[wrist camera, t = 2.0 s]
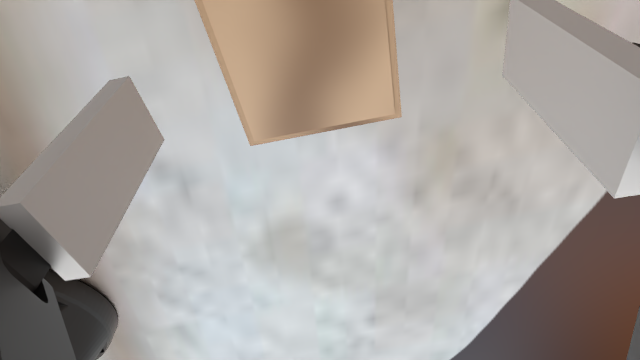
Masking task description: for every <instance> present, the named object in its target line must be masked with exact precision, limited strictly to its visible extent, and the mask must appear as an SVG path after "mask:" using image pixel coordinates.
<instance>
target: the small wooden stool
mask: <svg viewBox="0 0 640 360" xmlns="http://www.w3.org/2000/svg"><path fill="white" fill-rule="evenodd" d="M195 3H196V5H197V8H198V10H199V13H200V16H201V18H202V21H203V23H204V26H205V29H206V31H207V34H208V37H209V39H210V42H211V44H212V47H213V50H214V52H215V55H216V57H217V60H218V63H219V65H220V68H221V70H222V73H223V76H224V78H225V81H226V84H227V86H228V89H229V91H230V94H231V97H232V99H233V102H234V104H235V107H236V110H237V112H238V115H239V117H240V120H241V123H242V125H243V128H244V130H245V133H246V136H247V138H248V141H249V144H250V146H253V145H258V144H263V143H269V142H274V141H279V140H284V139H290V138H295V137H300V136H305V135H310V134H316V133H321V132H326V131H331V130H336V129H342V128H347V127H352V126H357V125H363V124H368V123H373V122H378V121H383V120H389V119H394V118H399V117H402V116H401V103H400V90H399V77H398V64H397V51H396V38H395V25H394V13H393V0H195Z"/></svg>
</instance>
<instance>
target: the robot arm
mask: <svg viewBox="0 0 640 360" xmlns="http://www.w3.org/2000/svg"><path fill="white" fill-rule="evenodd" d="M502 76H503V77H504V78H505V79H506V80H507V81H508V83H509V84H510V85H511V86H512V87H513V88H514V89H515V90H516V91H517V92H518V93H519V95H520V96H521V97H522V98H523V99H524V100H525V101H526V102H527V103H528V104H529V106H530V107H531V108H532V109H533V110H534V111H535V112H536V113H537V114H538V115H539V116H540V118H541V119H542V120H543V121H544V122H545V123H546V124H547V125H548V126H549V127H550V129H551V130H552V131H553V132H554V133H555V134H556V135H557V136H558V137H559V138H560V139H561V141H562V142H563V143H564V144H565V145H566V146H567V147H568V148H569V149H570V150H571V152H572V153H573V154H574V155H575V156H576V157H577V158H578V159H579V160H580V161H581V163H582V164H583V165H584V166H585V167H586V168H587V169H588V170H589V171H590V172H591V173H592V175H593V176H594V177H595V178H596V179H597V180H598V181H599V182H600V183H601V184H602V186H603V187H604V188H605V189H606V190H607V191H608V192H609V193H610V194H611V195H612V196H613V198H619V197H627V196H633V195H640V44H637V43H631V42H629V41H627V40H625V39H624V38H622V37H620V36H618V35H616V34H614V33H613V32H611V31H609V30H607V29H605V28H604V27H602V26H600V25H598V24H596V23H595V22H593V21H591V20H589V19H587V18H586V17H584V16H582V15H580V14H578V13H576V12H575V11H573V10H571V9H569V8H567V7H566V6H564V5H562V4H560V3H558V2H557V1H555V0H510V7H509V16H508V26H507V35H506V45H505V54H504V63H503V73H502ZM163 141H164V138H163V136H162V135H161V133H160V131H159V129H158V127H157V126H156V124H155V122H154V120H153V118H152V116H151V115H150V113H149V111H148V109H147V107H146V106H145V104H144V102H143V100H142V98H141V97H140V95H139V93H138V91H137V89H136V87H135V86H134V84H133V82H132V80H131V78H130V77H129V76H128V77H123V78H118V79H114V80H109V81H108V83H107V84H106V85H105V86H104V87H103V88H102V89H101V90H100V91H99V92H98V93H97V94H96V95H95V96H94V97H93V99H92V100H91V101H90V102H89V103H88V104H87V105H86V106H85V107H84V108H83V109H82V110H81V111H80V112H79V113H78V115H77V116H76V117H75V118H74V119H73V120H72V121H71V122H70V123H69V124H68V125H67V126H66V127H65V128H64V130H63V131H62V132H61V133H60V134H59V135H58V136H57V137H56V138H55V139H54V140H53V141H52V142H51V143H50V144H49V146H48V147H47V148H46V149H45V150H44V151H43V152H42V153H41V154H40V155H39V156H38V157H37V158H36V159H35V160H34V162H33V163H32V164H31V165H30V166H29V167H28V168H27V169H26V170H25V171H24V172H23V173H22V174H21V175H20V176H19V178H18V179H17V180H16V181H15V182H14V183H13V184H12V185H11V186H10V187H9V188H8V189H7V190H6V191H5V193H4V194H3V195H2V196H1V197H0V360H97V359H98V358H99V357H101V356H102V355H103V354H104V352H105V351H106V350H107V348H108V347H109V345H110V343H111V340H112V338H113V336H114V333H115V331H116V328H117V325H118V317H117V313H116V311H115V309H114V308H113V306H112V305H111V304H110V302H109V301H108V300H107V299H106V298H105V297H103V296H102V295H101V294H100V293H98V292H97V291H96V290H94V289H92V288H91V287H89V286H87V285H86V284H84V283H82V282H80V281H78V280H75V279H81V278H87V277H91V276H92V274H93V272H94V270H95V269H96V267H97V265H98V263H99V261H100V259H101V257H102V255H103V254H104V252H105V250H106V248H107V246H108V244H109V242H110V240H111V239H112V237H113V235H114V233H115V231H116V229H117V227H118V225H119V224H120V222H121V220H122V218H123V216H124V214H125V212H126V210H127V209H128V207H129V205H130V203H131V201H132V199H133V197H134V196H135V194H136V192H137V190H138V188H139V186H140V184H141V182H142V181H143V179H144V177H145V175H146V173H147V171H148V169H149V167H150V166H151V164H152V162H153V160H154V158H155V156H156V154H157V152H158V151H159V149H160V147H161V145H162V143H163ZM50 267H51V268H52V269H53V270H54V271H55V272H52V271H49V269H50ZM627 360H640V307H639V311H638V315H637V319H636V323H635V328H634V331H633V336H632V340H631V344H630V348H629V352H628V356H627Z"/></svg>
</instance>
